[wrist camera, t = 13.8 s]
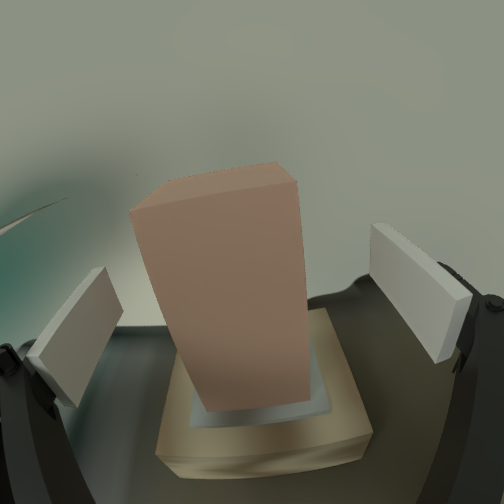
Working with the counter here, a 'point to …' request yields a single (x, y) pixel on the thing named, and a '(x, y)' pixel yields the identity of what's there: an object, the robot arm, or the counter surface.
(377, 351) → the counter surface
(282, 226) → the pillar block
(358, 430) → the pedestal
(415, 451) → the counter surface
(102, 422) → the counter surface
